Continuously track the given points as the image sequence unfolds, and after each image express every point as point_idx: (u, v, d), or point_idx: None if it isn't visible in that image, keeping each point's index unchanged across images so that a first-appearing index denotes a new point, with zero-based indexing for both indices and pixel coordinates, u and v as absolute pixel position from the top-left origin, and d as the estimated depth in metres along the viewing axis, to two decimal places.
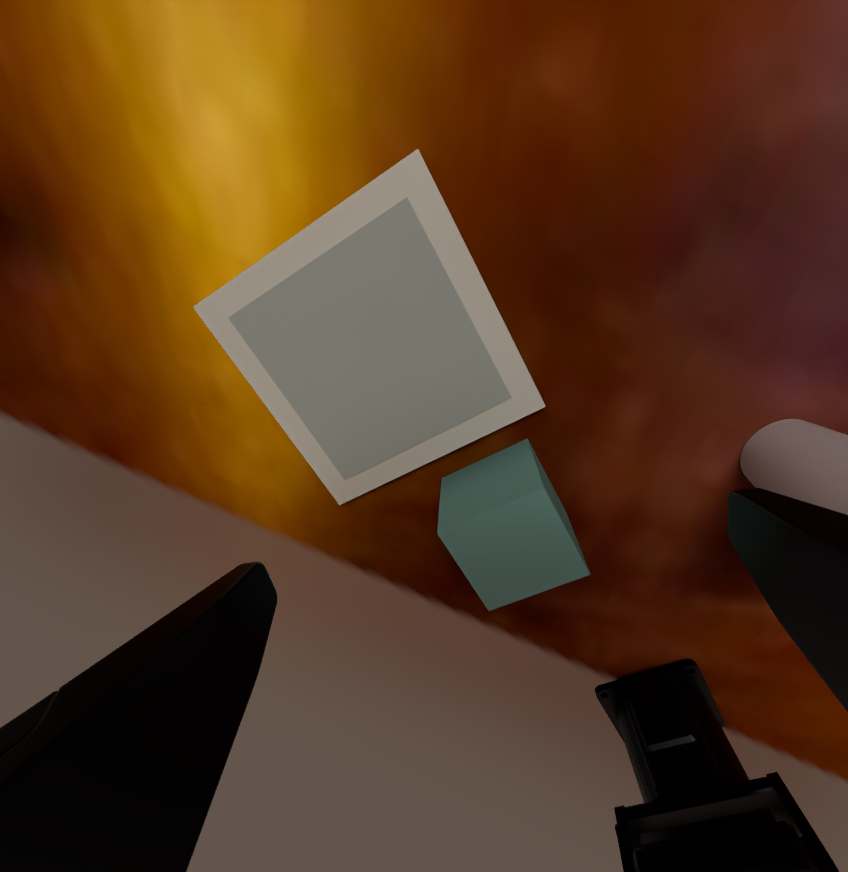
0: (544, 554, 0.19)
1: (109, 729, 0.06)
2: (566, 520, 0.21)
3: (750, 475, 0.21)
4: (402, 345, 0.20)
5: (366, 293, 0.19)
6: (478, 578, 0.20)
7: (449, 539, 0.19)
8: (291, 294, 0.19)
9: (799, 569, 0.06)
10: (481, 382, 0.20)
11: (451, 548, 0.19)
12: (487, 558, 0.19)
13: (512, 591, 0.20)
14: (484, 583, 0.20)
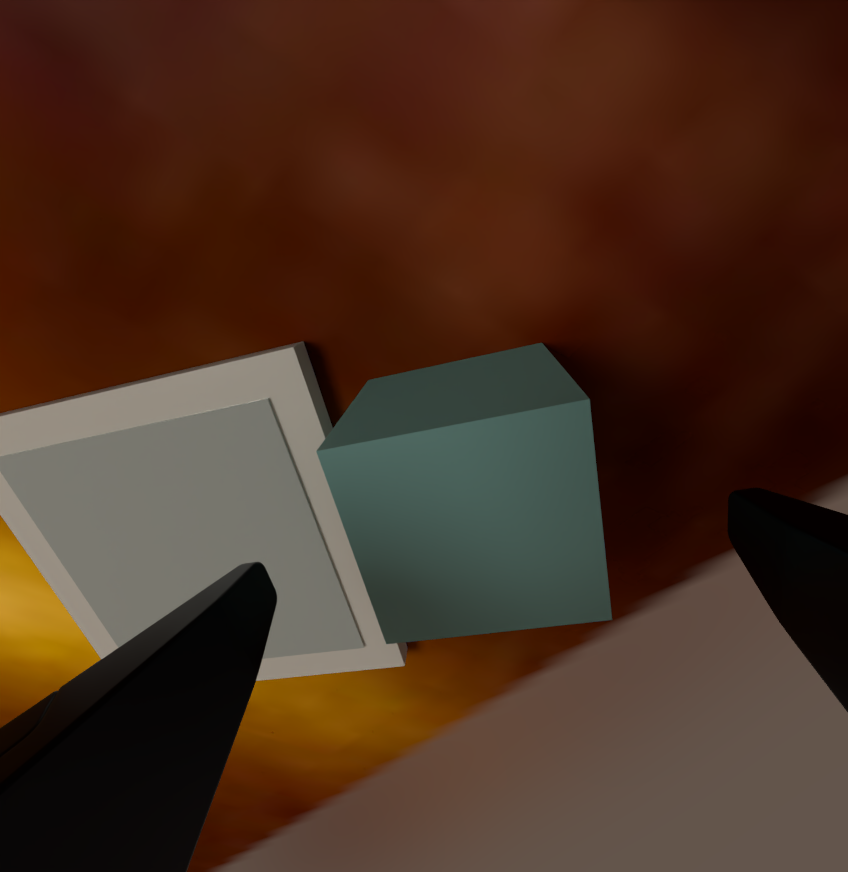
0: (491, 485, 0.08)
1: (109, 729, 0.06)
2: (500, 377, 0.10)
3: None
4: (176, 518, 0.14)
5: (109, 536, 0.15)
6: (515, 613, 0.09)
7: (404, 631, 0.10)
8: (109, 609, 0.16)
9: (799, 569, 0.06)
10: (239, 434, 0.13)
11: (426, 634, 0.10)
12: (469, 586, 0.09)
13: (574, 566, 0.09)
14: (532, 607, 0.09)
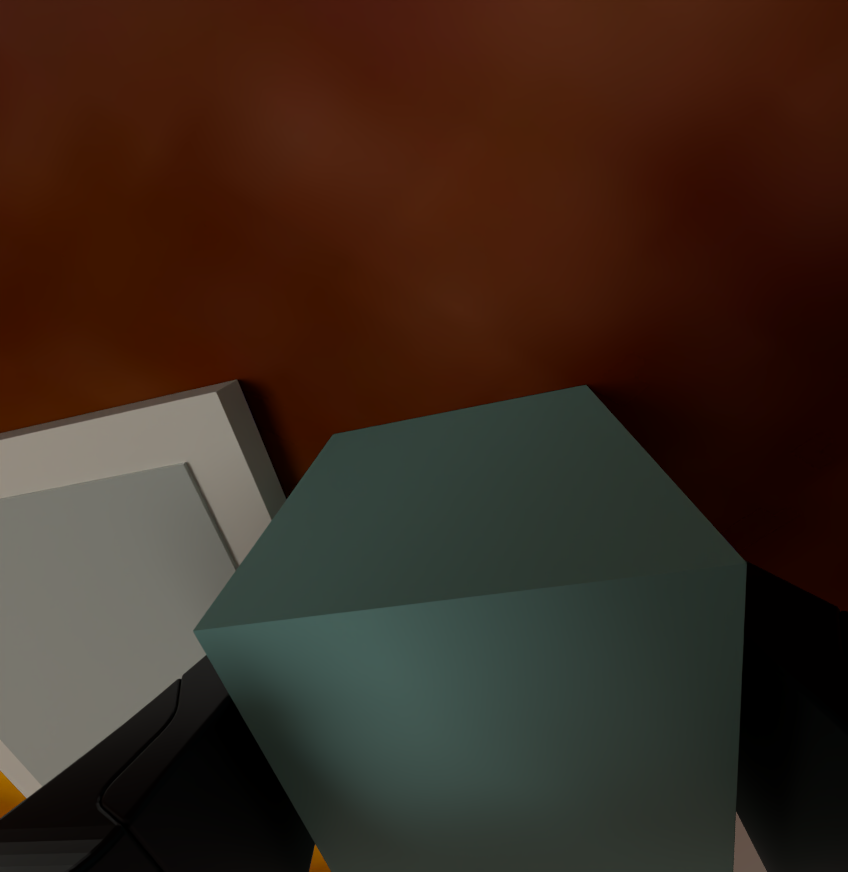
0: (528, 698, 0.04)
1: None
2: (532, 459, 0.06)
3: None
4: (76, 615, 0.10)
5: None
6: None
7: None
8: (2, 719, 0.12)
9: None
10: (149, 511, 0.09)
11: None
12: (483, 836, 0.05)
13: (675, 821, 0.05)
14: (592, 868, 0.05)
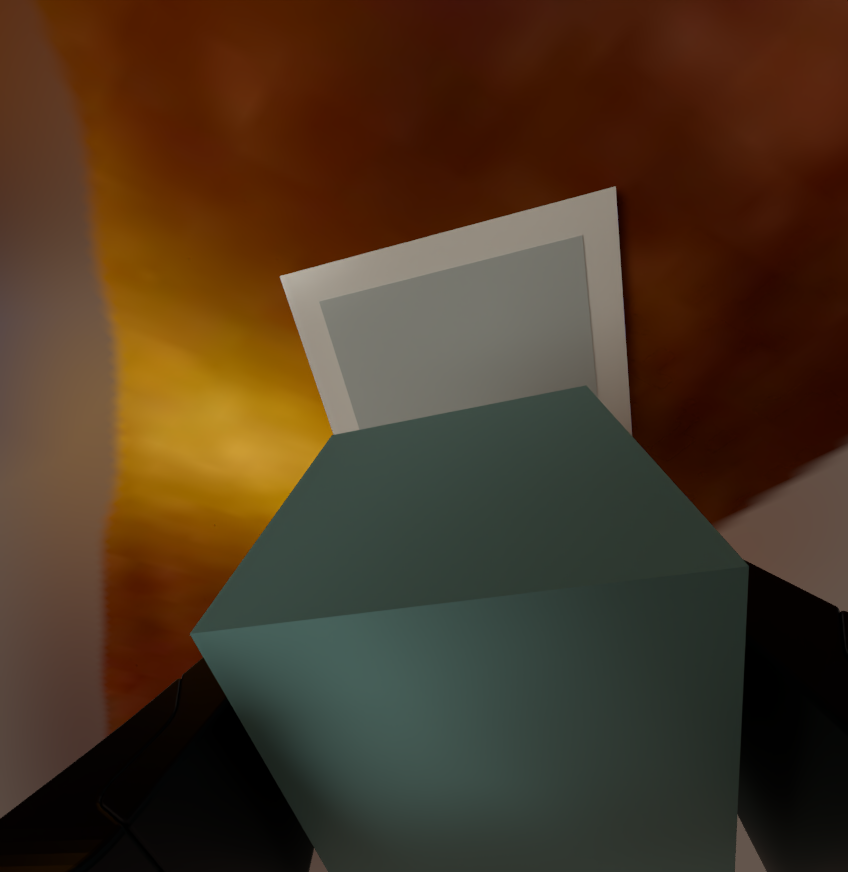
0: (529, 701, 0.04)
1: None
2: (532, 460, 0.06)
3: None
4: (467, 356, 0.17)
5: (401, 376, 0.17)
6: None
7: None
8: None
9: None
10: (546, 271, 0.15)
11: None
12: (483, 839, 0.05)
13: (676, 825, 0.05)
14: None
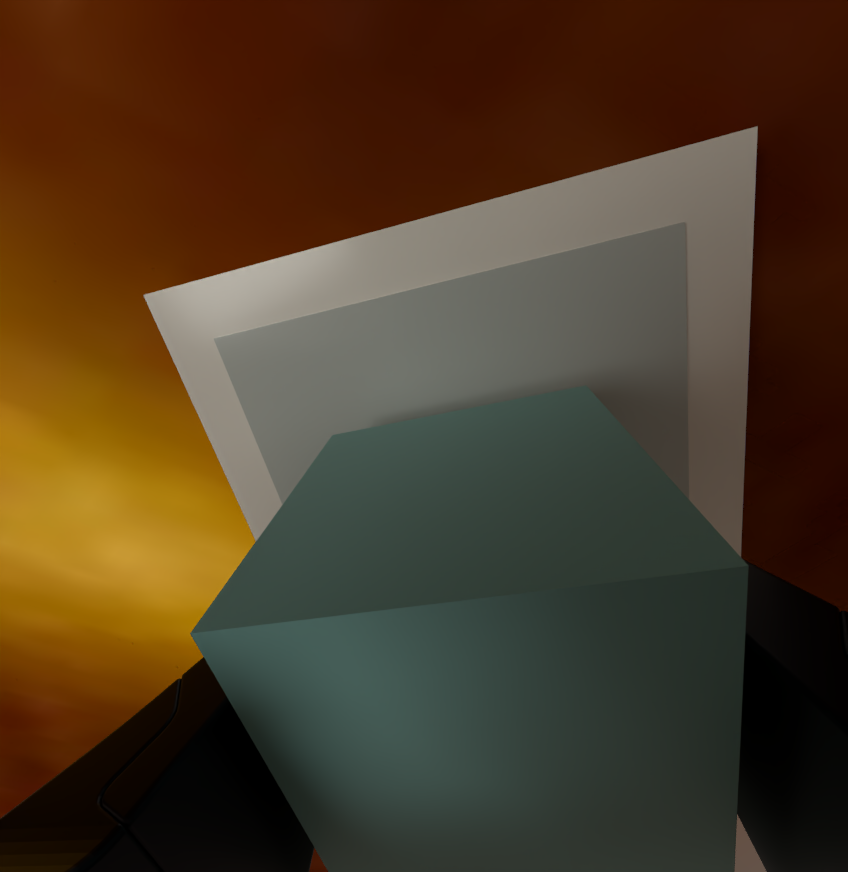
0: (529, 701, 0.04)
1: None
2: (532, 460, 0.06)
3: None
4: None
5: None
6: None
7: None
8: None
9: None
10: (612, 289, 0.09)
11: None
12: (483, 838, 0.05)
13: (676, 824, 0.05)
14: (592, 871, 0.05)
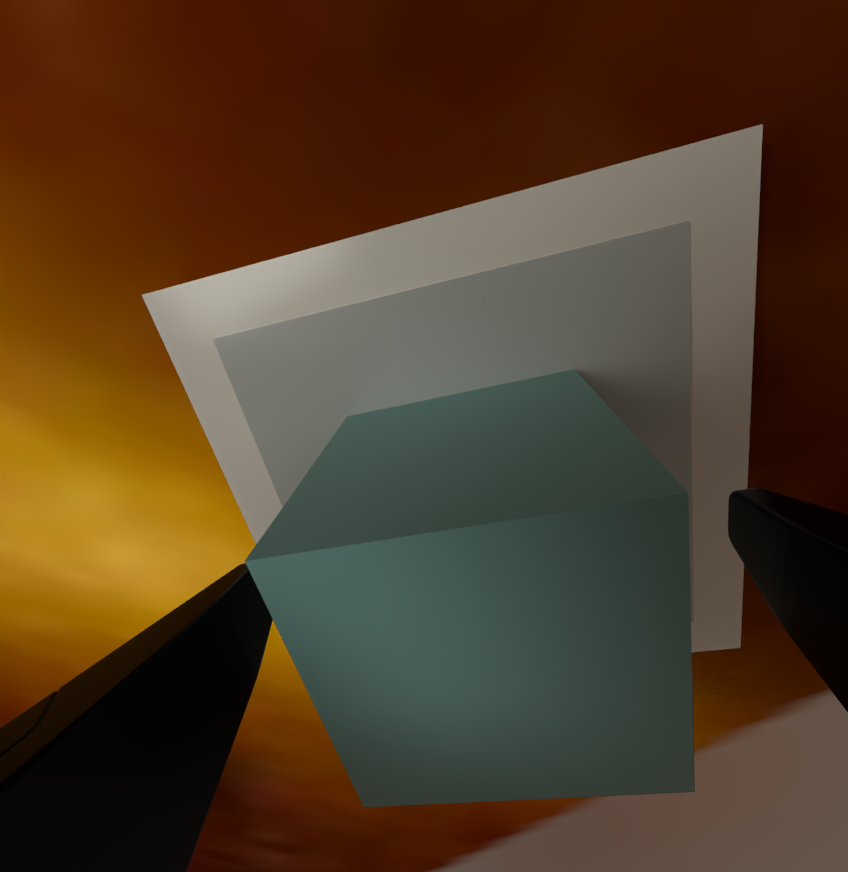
0: (519, 614, 0.05)
1: (109, 729, 0.06)
2: (524, 428, 0.07)
3: None
4: None
5: None
6: (550, 779, 0.06)
7: (389, 793, 0.07)
8: None
9: (799, 569, 0.06)
10: (615, 289, 0.08)
11: (420, 797, 0.07)
12: (483, 744, 0.06)
13: (644, 725, 0.06)
14: (576, 772, 0.06)
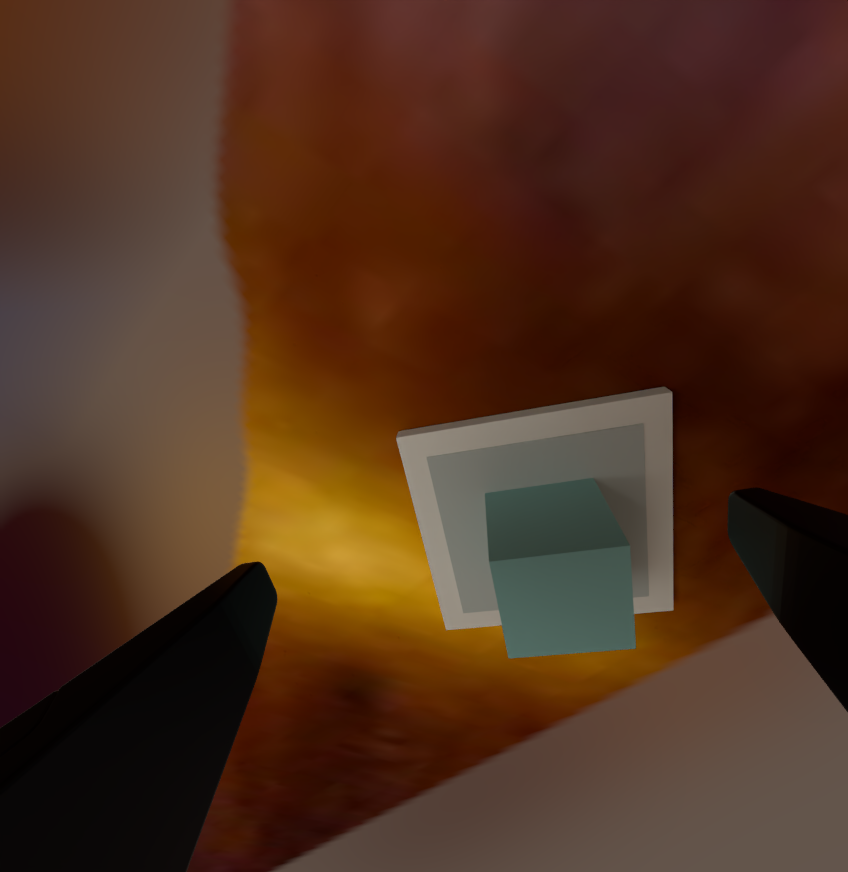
0: (577, 580, 0.16)
1: (109, 729, 0.06)
2: (575, 512, 0.18)
3: None
4: None
5: None
6: (583, 643, 0.17)
7: (520, 651, 0.18)
8: (464, 565, 0.23)
9: (799, 569, 0.06)
10: (612, 446, 0.19)
11: (532, 653, 0.18)
12: (560, 629, 0.17)
13: (617, 621, 0.17)
14: (593, 641, 0.17)
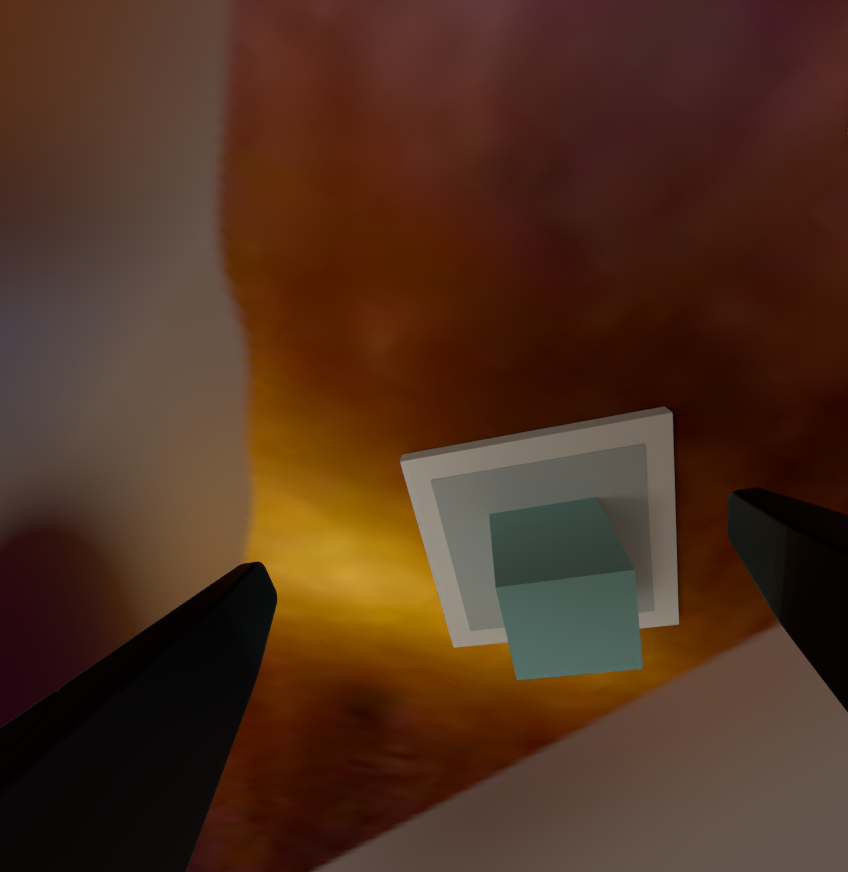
0: (583, 604, 0.16)
1: (109, 729, 0.06)
2: (580, 534, 0.18)
3: None
4: None
5: None
6: (590, 665, 0.18)
7: (528, 673, 0.18)
8: (470, 584, 0.23)
9: (799, 569, 0.06)
10: (615, 466, 0.20)
11: (540, 675, 0.18)
12: (567, 651, 0.17)
13: (624, 642, 0.17)
14: (600, 662, 0.17)
